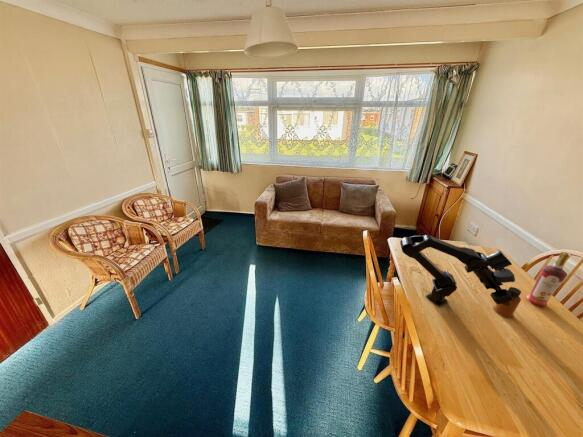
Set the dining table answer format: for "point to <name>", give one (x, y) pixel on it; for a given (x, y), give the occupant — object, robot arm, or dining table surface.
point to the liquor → (548, 281)
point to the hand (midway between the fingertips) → (503, 297)
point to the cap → (514, 292)
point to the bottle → (508, 307)
